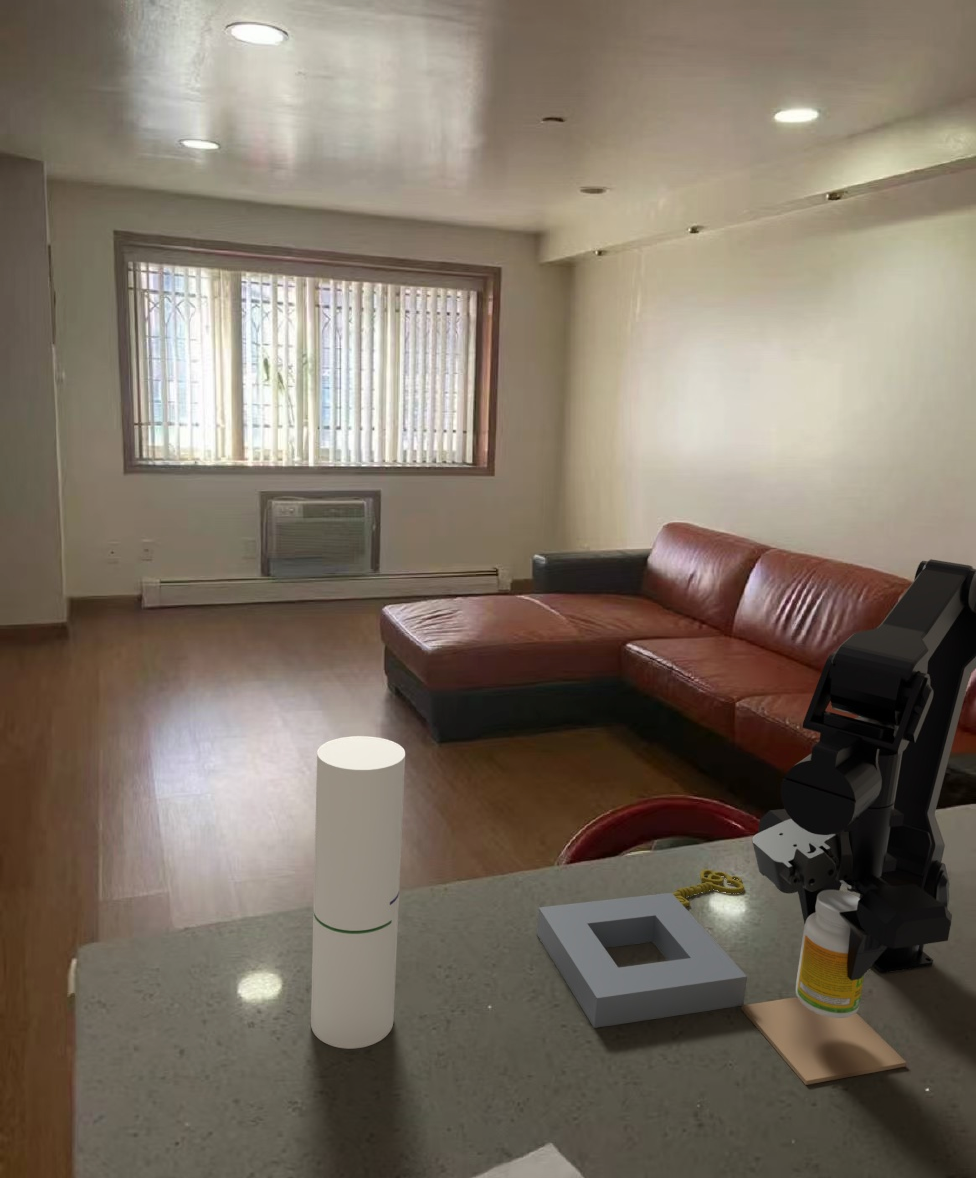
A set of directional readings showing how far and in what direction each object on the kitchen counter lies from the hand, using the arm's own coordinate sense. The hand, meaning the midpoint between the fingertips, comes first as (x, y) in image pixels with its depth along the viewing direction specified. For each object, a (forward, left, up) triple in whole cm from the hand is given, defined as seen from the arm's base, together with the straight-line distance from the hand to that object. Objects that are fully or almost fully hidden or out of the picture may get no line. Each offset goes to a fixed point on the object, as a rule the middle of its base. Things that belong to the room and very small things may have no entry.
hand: (833, 958), depth 86 cm
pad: (0, 0, -8) cm, 8 cm away
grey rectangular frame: (+12, -13, -8) cm, 19 cm away
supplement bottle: (0, 0, -4) cm, 4 cm away
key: (-2, -25, -8) cm, 27 cm away
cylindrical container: (+40, -11, -8) cm, 42 cm away
